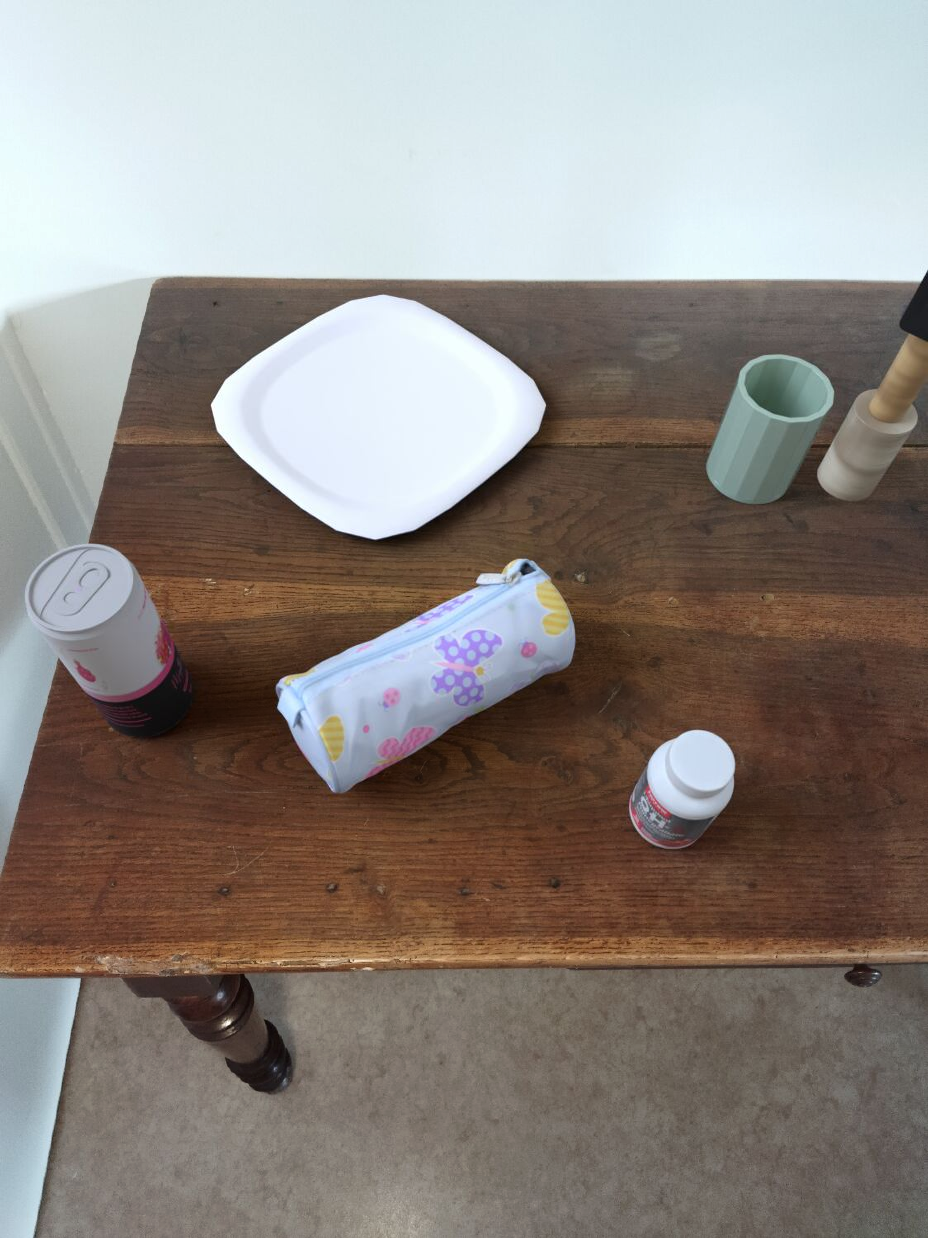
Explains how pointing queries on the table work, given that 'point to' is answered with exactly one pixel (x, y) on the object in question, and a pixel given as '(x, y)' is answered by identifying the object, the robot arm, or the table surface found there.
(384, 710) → the pencil case
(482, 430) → the plate
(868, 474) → the wooden rod
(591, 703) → the table surface
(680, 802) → the pill bottle
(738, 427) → the cup
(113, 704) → the beverage can
